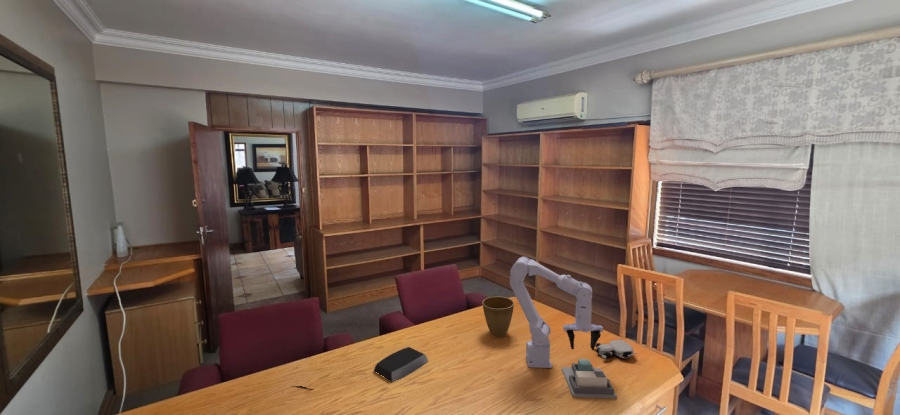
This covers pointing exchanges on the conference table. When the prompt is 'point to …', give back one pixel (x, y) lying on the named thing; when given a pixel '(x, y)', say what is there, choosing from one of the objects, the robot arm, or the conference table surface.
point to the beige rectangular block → (590, 379)
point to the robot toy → (615, 349)
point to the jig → (586, 391)
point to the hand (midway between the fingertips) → (582, 348)
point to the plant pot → (498, 314)
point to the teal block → (584, 365)
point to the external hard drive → (400, 364)
